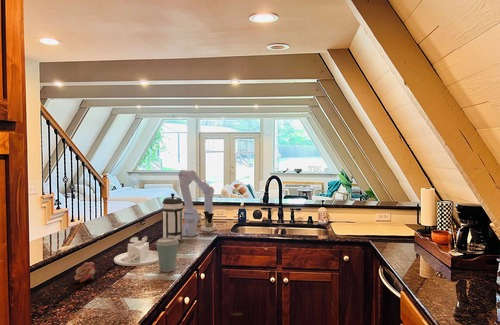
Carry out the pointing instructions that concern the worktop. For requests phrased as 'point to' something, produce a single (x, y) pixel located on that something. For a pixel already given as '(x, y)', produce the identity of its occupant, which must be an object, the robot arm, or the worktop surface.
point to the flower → (85, 271)
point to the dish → (137, 254)
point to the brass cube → (208, 223)
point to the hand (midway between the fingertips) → (208, 222)
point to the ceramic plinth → (208, 228)
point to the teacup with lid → (200, 218)
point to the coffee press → (173, 217)
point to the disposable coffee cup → (167, 253)
